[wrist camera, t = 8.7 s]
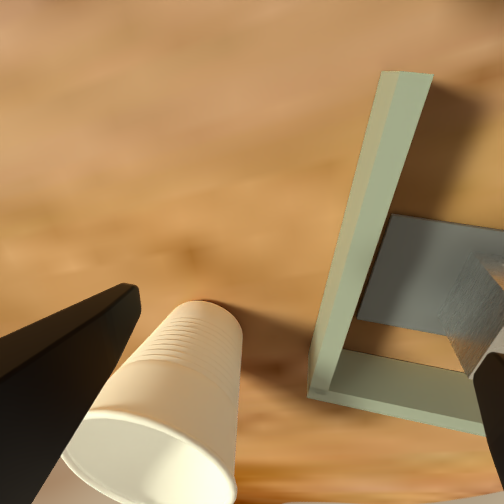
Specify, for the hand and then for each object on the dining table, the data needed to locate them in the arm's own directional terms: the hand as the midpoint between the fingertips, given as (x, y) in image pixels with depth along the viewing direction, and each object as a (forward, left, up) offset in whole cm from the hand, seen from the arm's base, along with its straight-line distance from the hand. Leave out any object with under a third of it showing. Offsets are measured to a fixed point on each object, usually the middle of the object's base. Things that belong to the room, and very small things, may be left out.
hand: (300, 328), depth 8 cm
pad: (+5, +10, -12) cm, 17 cm away
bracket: (+5, +13, -12) cm, 18 cm away
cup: (+13, -6, -12) cm, 19 cm away
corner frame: (+4, +10, -12) cm, 16 cm away
